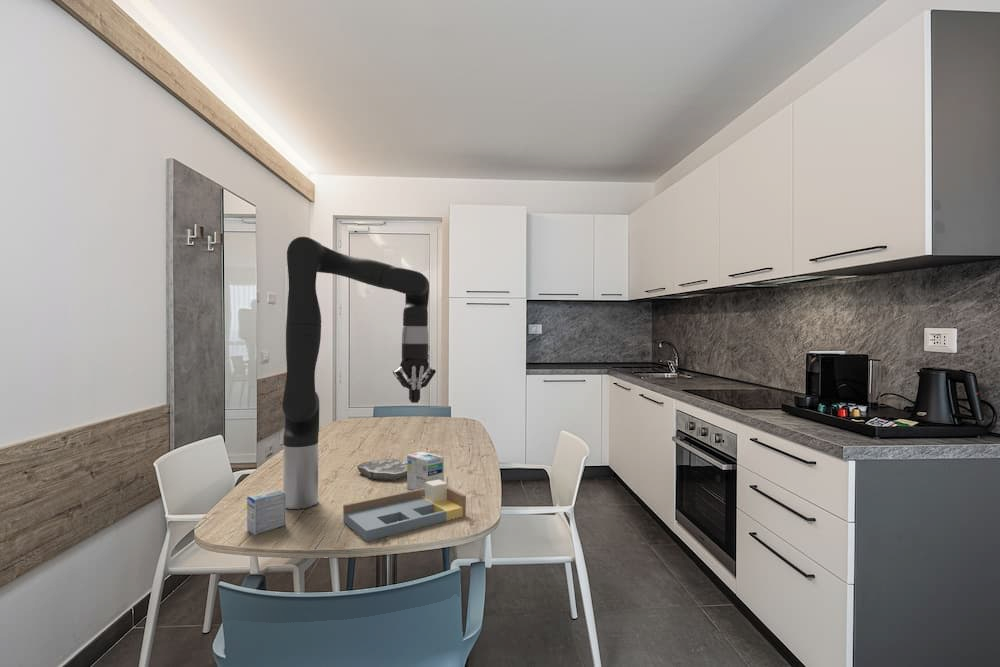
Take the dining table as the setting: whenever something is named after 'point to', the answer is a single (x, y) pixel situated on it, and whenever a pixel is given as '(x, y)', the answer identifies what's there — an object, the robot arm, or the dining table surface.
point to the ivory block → (435, 490)
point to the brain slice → (384, 469)
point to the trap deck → (401, 513)
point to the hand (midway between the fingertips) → (414, 402)
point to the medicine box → (266, 511)
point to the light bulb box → (423, 469)
